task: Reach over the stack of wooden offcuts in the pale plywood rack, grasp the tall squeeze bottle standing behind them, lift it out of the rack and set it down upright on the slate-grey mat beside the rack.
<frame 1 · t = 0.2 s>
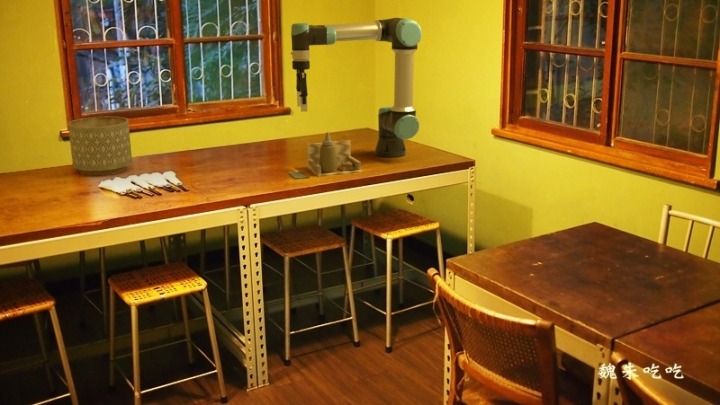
hand: (302, 109, 348), 27 cm above the table, fingers open, 13 cm apart
squeeze bottle: (328, 173, 350), on the table
rack: (334, 172, 351), on the table
mat: (302, 175, 346), on the table
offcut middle: (346, 169, 353), point 1 cm above the table, touching offcut bottom, offcut top
offcut bottom: (346, 172, 354), on the table, touching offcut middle
planter: (103, 170, 358), on the table
offcut top: (346, 166, 353), point 2 cm above the table, touching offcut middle
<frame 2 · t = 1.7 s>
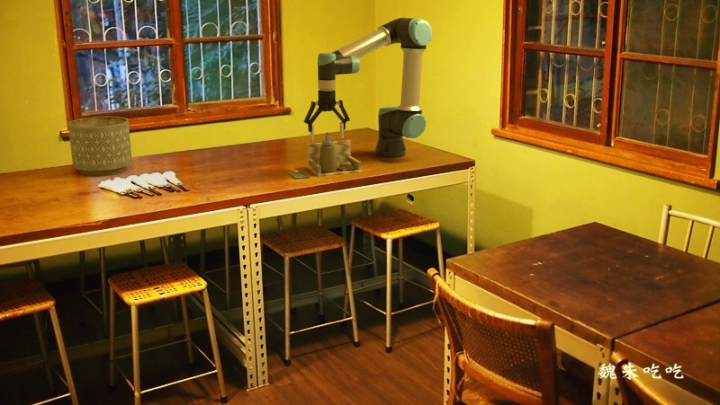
hand: (327, 138, 346), 15 cm above the table, fingers open, 13 cm apart
nothing on the table moved.
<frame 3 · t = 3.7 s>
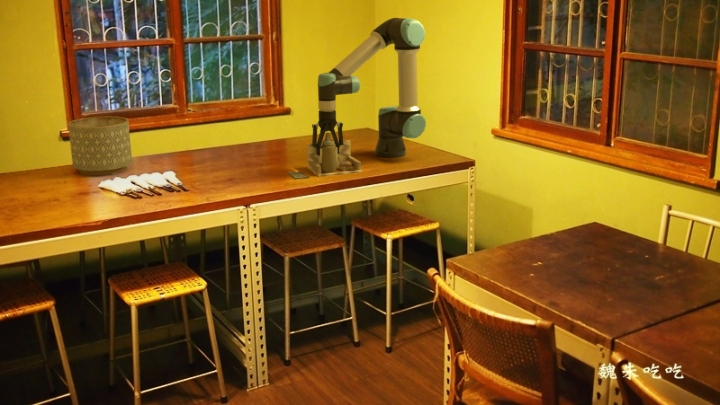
hand: (328, 161, 349), 5 cm above the table, fingers closed on squeeze bottle, 6 cm apart
squeeze bottle: (328, 173, 350), on the table, touching gripper
everything else where it was.
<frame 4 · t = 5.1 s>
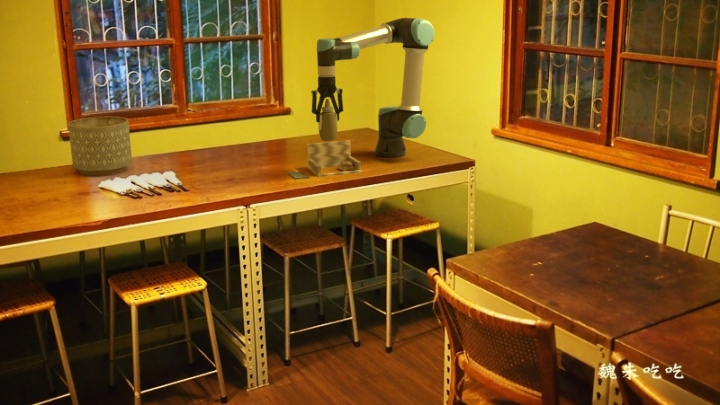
hand: (328, 128, 345), 20 cm above the table, fingers closed on squeeze bottle, 6 cm apart
squeeze bottle: (328, 140, 346), point 14 cm above the table, touching gripper
everything else where it was.
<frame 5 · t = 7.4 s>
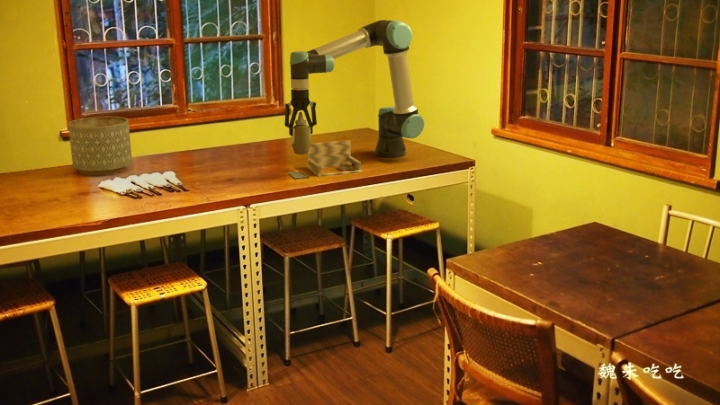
hand: (301, 142, 342), 15 cm above the table, fingers closed on squeeze bottle, 6 cm apart
squeeze bottle: (301, 153, 343), point 10 cm above the table, touching gripper
everything else where it was.
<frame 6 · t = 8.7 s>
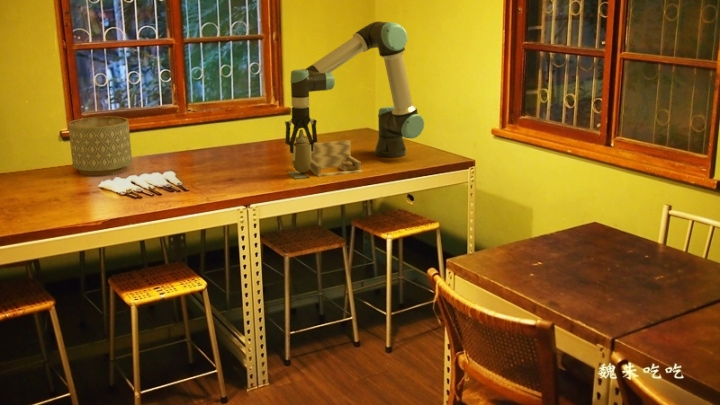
hand: (301, 159, 344), 7 cm above the table, fingers closed on squeeze bottle, 6 cm apart
squeeze bottle: (302, 170, 346), point 2 cm above the table, touching gripper
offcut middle: (347, 169, 353), point 1 cm above the table, touching offcut bottom
offcut top: (347, 165, 353), point 2 cm above the table
everything else where it was.
when the fingers open (7 cm above the table, at t = 9.5 s): squeeze bottle drops 1 cm, resting on mat.
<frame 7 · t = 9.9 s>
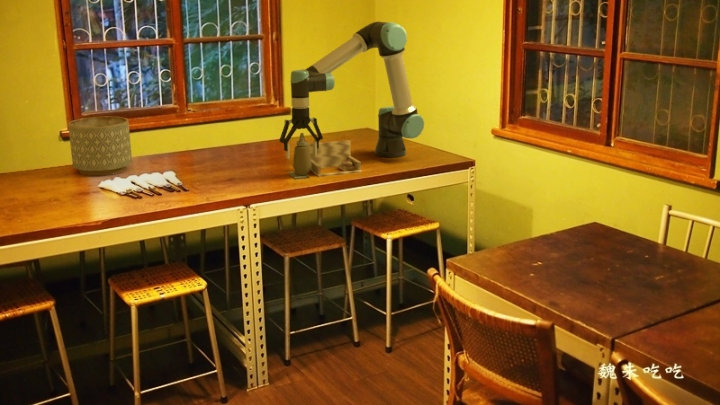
hand: (301, 157, 344), 8 cm above the table, fingers open, 11 cm apart
squeeze bottle: (302, 174, 346), resting on mat
everything else where it was.
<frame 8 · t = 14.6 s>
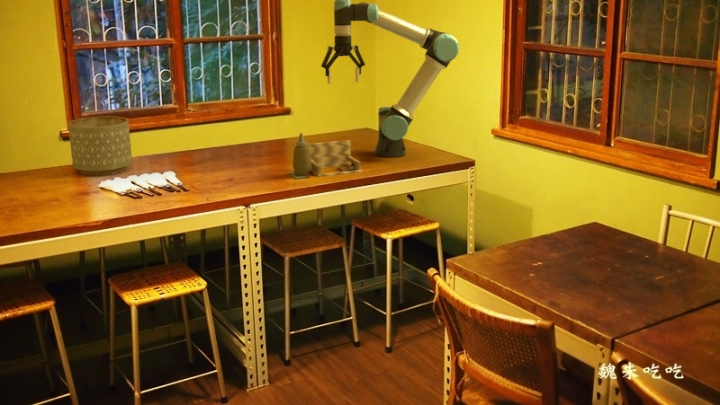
hand: (343, 82, 361), 37 cm above the table, fingers open, 13 cm apart
nothing on the table moved.
at the end: squeeze bottle inside the target area on the mat (0.0 cm from its centre), point 0.3 cm above the mat's base; squeeze bottle tilted 0°; the gripper is holding nothing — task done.
